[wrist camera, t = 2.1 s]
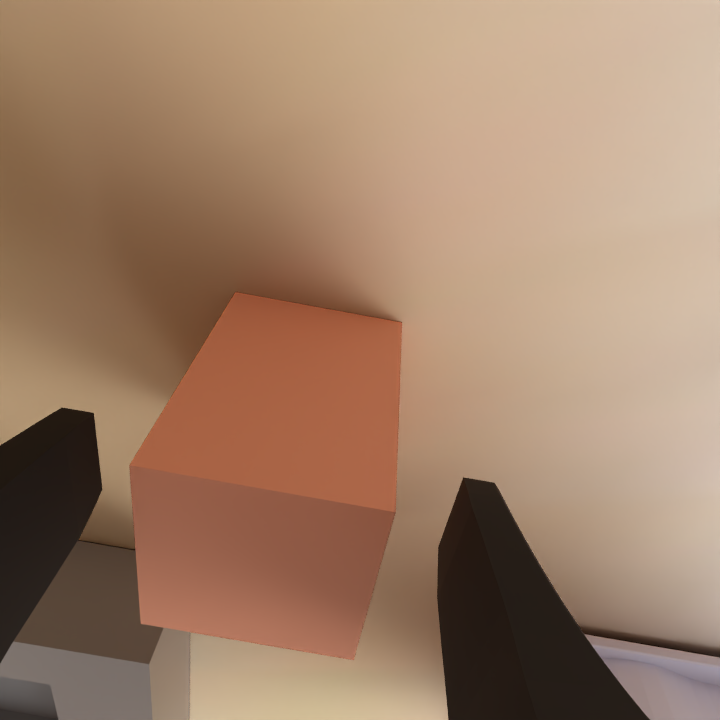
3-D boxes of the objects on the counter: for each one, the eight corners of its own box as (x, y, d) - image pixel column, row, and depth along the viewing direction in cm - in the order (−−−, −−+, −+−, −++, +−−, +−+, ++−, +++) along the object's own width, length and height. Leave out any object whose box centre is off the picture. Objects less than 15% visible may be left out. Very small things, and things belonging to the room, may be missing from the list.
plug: (401, 322, 14) (395, 512, 9) (372, 448, 16) (353, 659, 11) (235, 291, 14) (129, 465, 8) (228, 422, 16) (140, 623, 11)
